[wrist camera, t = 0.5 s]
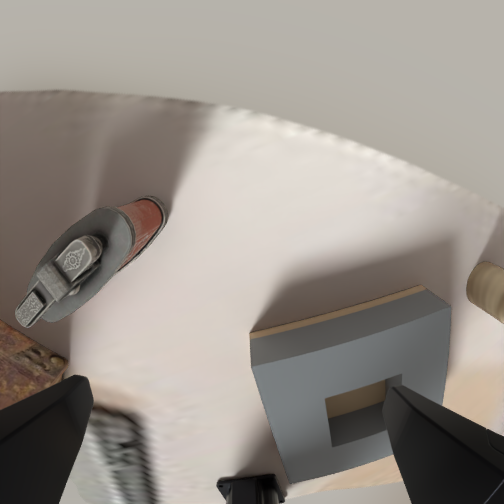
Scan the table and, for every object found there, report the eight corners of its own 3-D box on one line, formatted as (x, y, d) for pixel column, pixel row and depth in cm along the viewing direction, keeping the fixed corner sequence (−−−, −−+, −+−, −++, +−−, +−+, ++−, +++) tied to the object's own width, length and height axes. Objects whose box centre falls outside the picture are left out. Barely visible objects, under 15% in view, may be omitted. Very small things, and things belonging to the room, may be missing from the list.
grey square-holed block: (417, 408, 26) (436, 435, 22) (284, 449, 26) (289, 484, 22) (420, 284, 23) (451, 306, 18) (249, 332, 23) (251, 366, 19)
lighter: (147, 184, 20) (75, 195, 11) (178, 222, 21) (128, 263, 11) (74, 255, 21) (-10, 304, 12) (101, 290, 22) (31, 357, 12)
